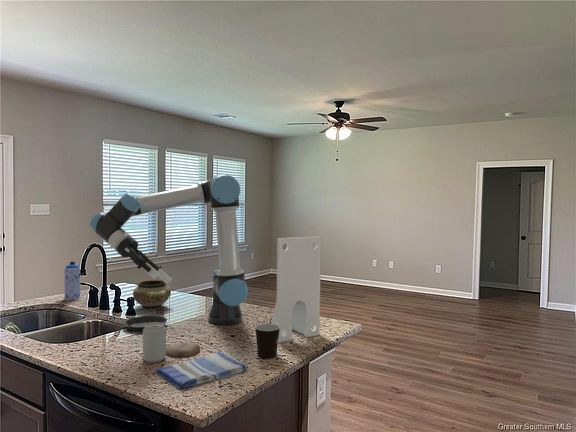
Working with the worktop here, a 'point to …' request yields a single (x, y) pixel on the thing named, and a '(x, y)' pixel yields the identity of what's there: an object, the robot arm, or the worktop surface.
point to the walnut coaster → (182, 349)
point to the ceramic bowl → (151, 294)
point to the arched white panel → (298, 287)
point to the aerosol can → (72, 282)
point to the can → (154, 342)
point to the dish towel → (202, 370)
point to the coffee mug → (267, 340)
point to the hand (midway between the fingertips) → (163, 279)
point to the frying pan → (143, 322)
